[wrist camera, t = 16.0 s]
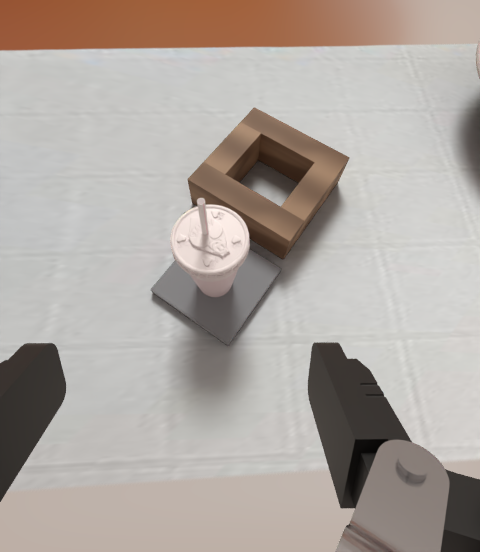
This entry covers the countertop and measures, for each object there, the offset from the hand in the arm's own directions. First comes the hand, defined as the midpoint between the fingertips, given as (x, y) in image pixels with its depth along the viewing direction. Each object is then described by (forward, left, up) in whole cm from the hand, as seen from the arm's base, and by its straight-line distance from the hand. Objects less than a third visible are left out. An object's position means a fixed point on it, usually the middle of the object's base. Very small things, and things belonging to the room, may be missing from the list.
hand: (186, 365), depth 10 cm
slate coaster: (+9, +7, -23) cm, 26 cm away
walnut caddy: (+22, +9, -23) cm, 33 cm away
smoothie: (+9, +7, -22) cm, 25 cm away
